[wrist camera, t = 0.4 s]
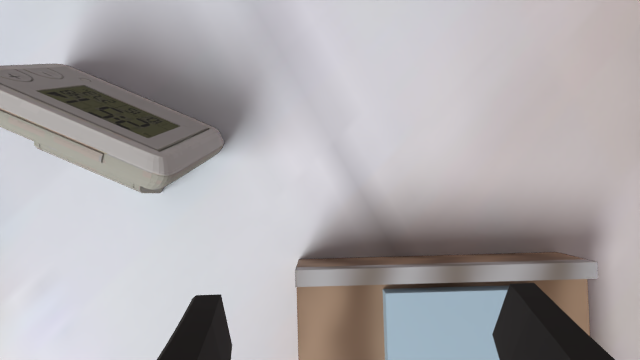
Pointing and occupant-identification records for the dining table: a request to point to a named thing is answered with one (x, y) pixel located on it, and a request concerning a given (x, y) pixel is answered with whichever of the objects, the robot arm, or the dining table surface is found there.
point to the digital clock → (103, 126)
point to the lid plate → (441, 322)
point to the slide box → (416, 272)
